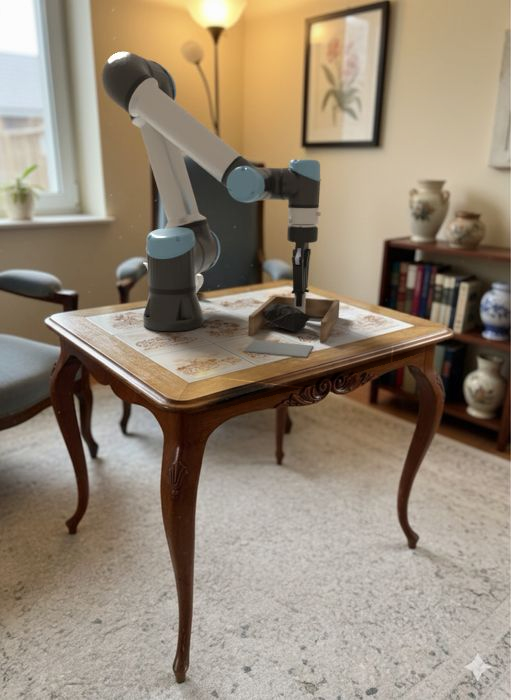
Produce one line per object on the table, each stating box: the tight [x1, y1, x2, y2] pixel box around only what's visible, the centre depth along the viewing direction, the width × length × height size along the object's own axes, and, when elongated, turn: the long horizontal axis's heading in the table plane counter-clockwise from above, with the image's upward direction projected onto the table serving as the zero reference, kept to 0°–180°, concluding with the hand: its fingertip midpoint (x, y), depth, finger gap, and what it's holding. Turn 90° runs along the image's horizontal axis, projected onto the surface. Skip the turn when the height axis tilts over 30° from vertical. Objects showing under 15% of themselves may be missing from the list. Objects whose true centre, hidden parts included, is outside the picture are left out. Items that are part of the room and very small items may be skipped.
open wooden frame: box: [247, 295, 340, 344], centre depth 136 cm, size 18×24×5 cm
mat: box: [242, 339, 314, 359], centre depth 119 cm, size 14×8×1 cm, turn 74°
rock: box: [264, 304, 310, 333], centre depth 133 cm, size 8×11×10 cm
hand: (299, 317), depth 140 cm, fingers closed
